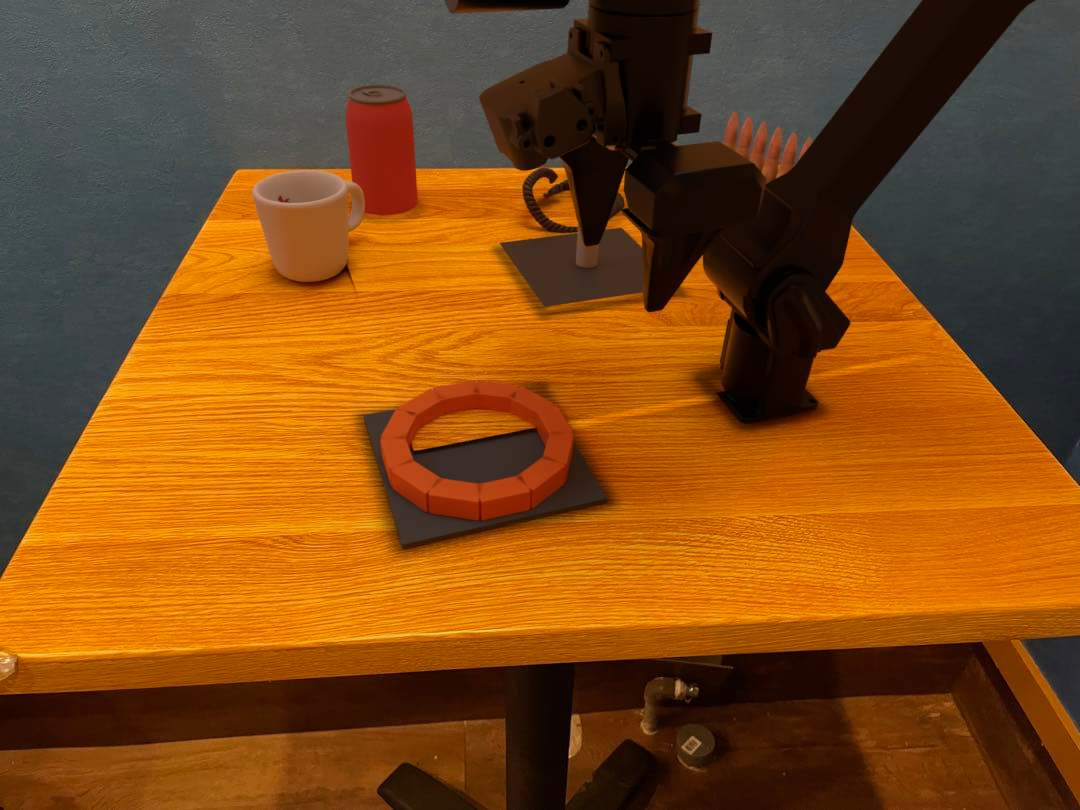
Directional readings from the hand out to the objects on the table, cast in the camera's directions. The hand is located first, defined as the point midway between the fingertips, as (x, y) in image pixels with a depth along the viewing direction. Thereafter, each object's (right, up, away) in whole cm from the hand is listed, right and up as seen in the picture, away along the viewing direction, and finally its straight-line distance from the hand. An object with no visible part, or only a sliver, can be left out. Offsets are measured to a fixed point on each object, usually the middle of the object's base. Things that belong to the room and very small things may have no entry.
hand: (620, 275), depth 52 cm
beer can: (-21, +12, +35) cm, 43 cm away
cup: (-25, +5, +24) cm, 35 cm away
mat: (-9, -12, +3) cm, 15 cm away
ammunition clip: (+16, +8, +31) cm, 36 cm away
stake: (-1, +4, +25) cm, 25 cm away
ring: (-9, -11, +3) cm, 15 cm away
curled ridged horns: (-2, +12, +35) cm, 37 cm away
